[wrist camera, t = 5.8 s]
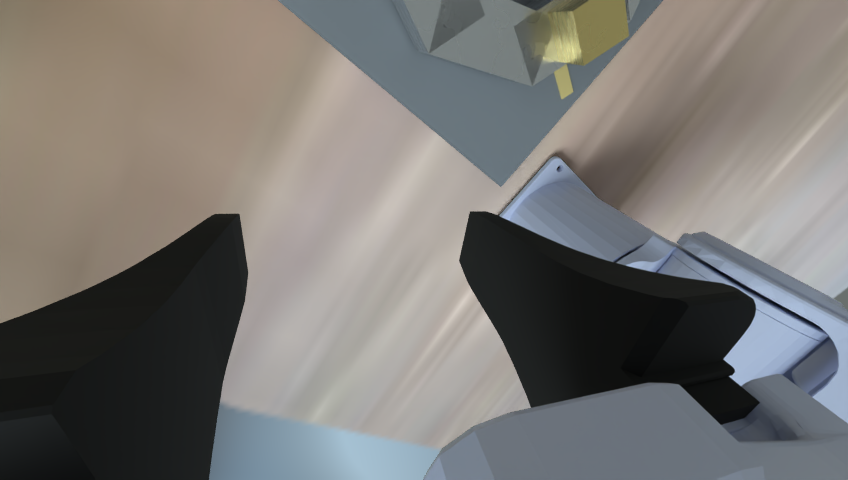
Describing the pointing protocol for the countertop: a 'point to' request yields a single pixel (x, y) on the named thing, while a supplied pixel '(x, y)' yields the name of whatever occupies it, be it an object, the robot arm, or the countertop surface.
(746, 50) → the countertop surface
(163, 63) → the countertop surface
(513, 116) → the slate plate
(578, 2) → the ring nut
